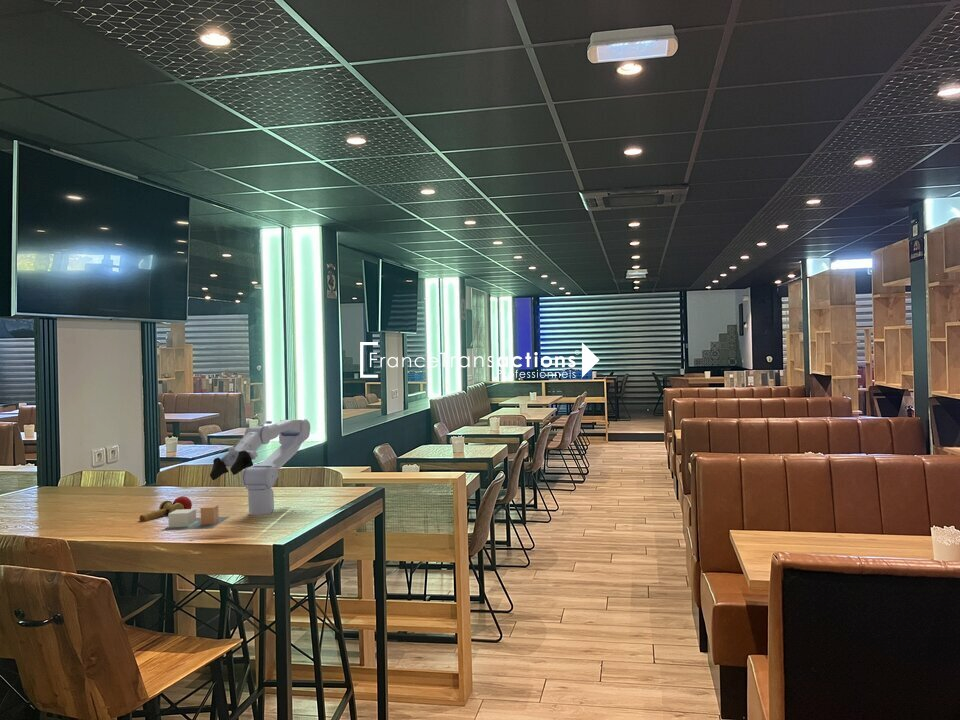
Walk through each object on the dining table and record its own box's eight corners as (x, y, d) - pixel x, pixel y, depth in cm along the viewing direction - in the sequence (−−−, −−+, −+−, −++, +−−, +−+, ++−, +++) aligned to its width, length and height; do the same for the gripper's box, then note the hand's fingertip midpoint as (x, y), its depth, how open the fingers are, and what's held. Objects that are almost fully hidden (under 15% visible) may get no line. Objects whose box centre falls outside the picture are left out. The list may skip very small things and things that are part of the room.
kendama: (153, 529, 227) (199, 509, 243) (147, 510, 227) (194, 491, 242) (138, 531, 231) (184, 512, 247) (132, 512, 231) (179, 494, 246)
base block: (176, 522, 225) (176, 509, 225) (196, 521, 225) (195, 508, 225) (168, 527, 219) (168, 513, 219) (188, 526, 219) (188, 513, 219)
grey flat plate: (182, 520, 231) (182, 518, 231) (230, 519, 231) (230, 516, 231) (161, 533, 215) (161, 530, 215) (212, 531, 215) (212, 528, 215)
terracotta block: (205, 521, 225) (205, 505, 225) (218, 520, 225) (218, 504, 225) (201, 524, 221) (200, 508, 221) (214, 523, 221) (213, 507, 221)
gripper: (219, 444, 228) (196, 468, 216) (257, 434, 223) (235, 458, 211) (230, 463, 230) (208, 487, 218) (267, 453, 226) (246, 478, 214)
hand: (222, 474), depth 215 cm, fingers open, 7 cm apart
